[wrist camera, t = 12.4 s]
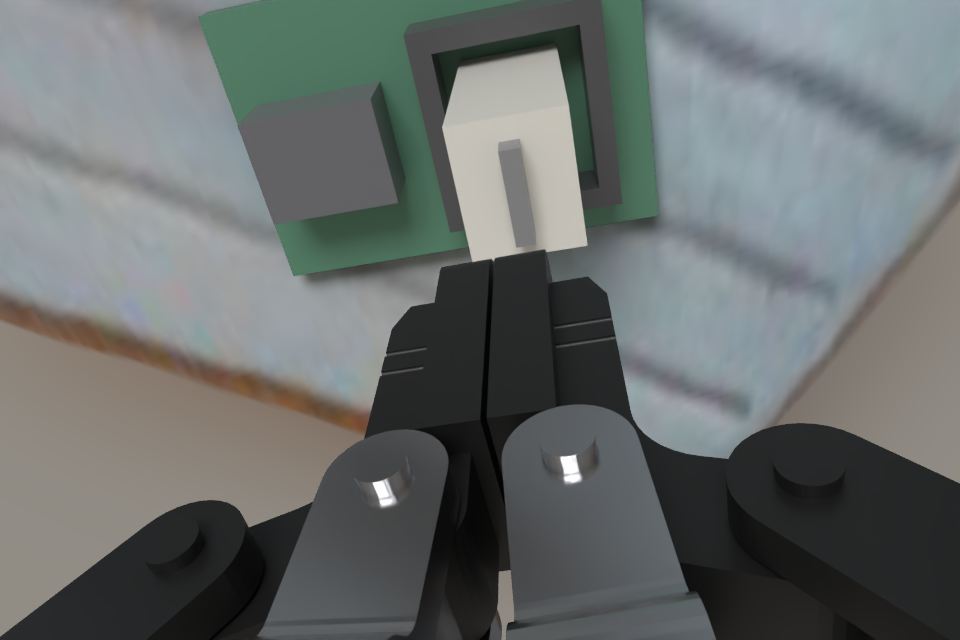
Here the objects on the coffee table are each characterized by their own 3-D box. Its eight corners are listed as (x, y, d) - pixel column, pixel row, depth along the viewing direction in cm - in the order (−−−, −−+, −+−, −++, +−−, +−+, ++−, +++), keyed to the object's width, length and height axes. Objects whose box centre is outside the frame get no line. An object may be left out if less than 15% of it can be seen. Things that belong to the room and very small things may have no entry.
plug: (555, 42, 28) (570, 113, 20) (571, 156, 30) (589, 257, 22) (459, 61, 28) (439, 136, 21) (482, 171, 30) (471, 275, 23)
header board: (631, -79, 27) (647, -71, 24) (654, 206, 32) (669, 242, 29) (207, 12, 29) (172, 30, 26) (298, 265, 34) (279, 304, 31)
